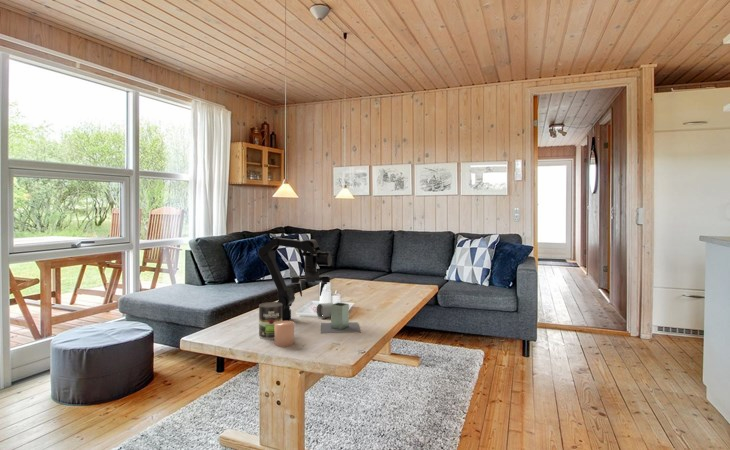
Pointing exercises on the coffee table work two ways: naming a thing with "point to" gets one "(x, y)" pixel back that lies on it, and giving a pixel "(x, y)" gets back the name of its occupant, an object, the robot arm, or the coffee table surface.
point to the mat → (351, 329)
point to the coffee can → (269, 318)
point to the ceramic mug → (324, 310)
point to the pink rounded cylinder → (284, 333)
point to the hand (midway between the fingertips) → (310, 296)
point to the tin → (339, 316)
